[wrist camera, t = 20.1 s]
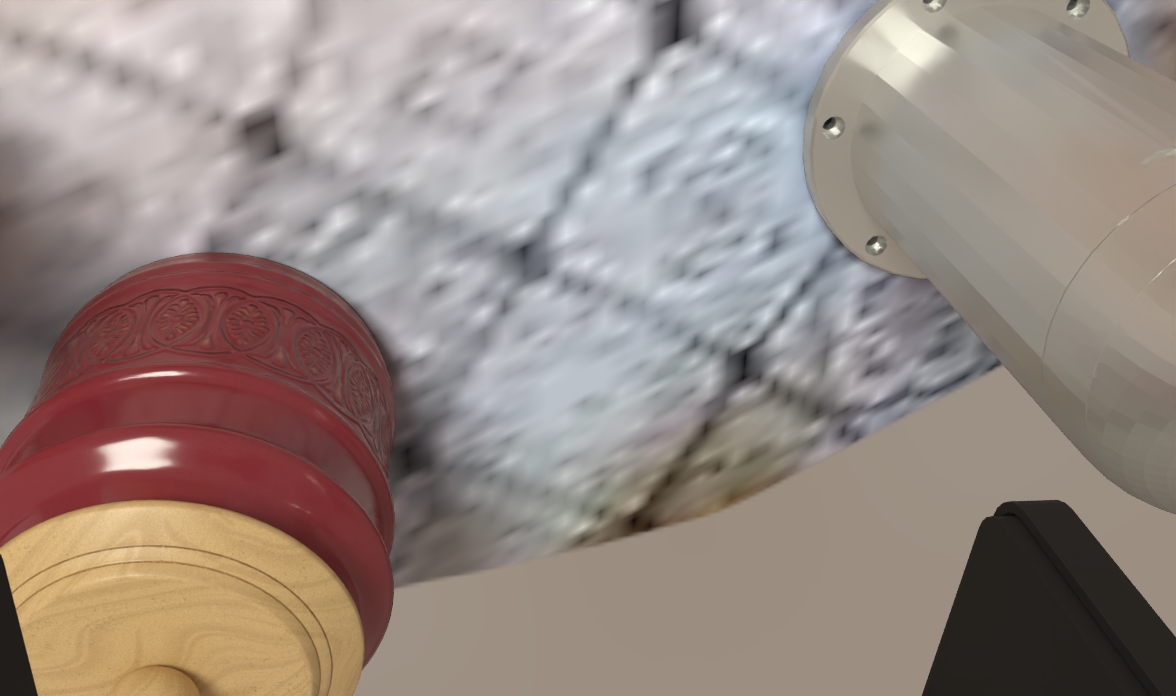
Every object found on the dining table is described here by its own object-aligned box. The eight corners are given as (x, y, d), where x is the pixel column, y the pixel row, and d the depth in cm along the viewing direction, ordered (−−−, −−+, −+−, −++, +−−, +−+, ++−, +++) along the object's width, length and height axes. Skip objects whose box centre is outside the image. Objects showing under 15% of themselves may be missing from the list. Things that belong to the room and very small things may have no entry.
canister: (412, 261, 42) (416, 583, 27) (380, 522, 48) (370, 899, 33) (46, 224, 39) (-175, 559, 24) (64, 506, 45) (-101, 910, 30)
